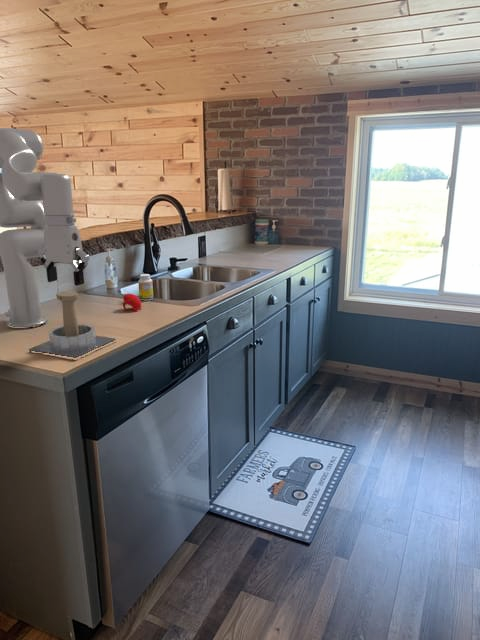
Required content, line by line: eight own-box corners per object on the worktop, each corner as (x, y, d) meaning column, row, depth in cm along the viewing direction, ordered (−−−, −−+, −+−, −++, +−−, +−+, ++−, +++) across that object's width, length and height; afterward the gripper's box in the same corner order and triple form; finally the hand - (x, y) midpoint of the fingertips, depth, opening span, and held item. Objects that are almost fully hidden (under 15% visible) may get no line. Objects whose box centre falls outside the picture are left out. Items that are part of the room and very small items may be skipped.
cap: (116, 301, 177) (122, 295, 173) (127, 293, 181) (133, 287, 177) (130, 318, 178) (136, 313, 174) (140, 309, 182) (147, 304, 178)
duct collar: (29, 352, 135) (26, 335, 133) (71, 334, 150) (70, 319, 148) (76, 360, 128) (74, 343, 127) (115, 341, 143) (114, 325, 142)
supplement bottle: (140, 298, 195) (138, 273, 192) (153, 297, 196) (152, 273, 193) (139, 301, 190) (137, 276, 187) (153, 301, 191) (151, 275, 188)
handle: (74, 348, 135) (68, 297, 131) (58, 343, 138) (52, 294, 134) (87, 342, 139) (81, 293, 134) (71, 338, 142) (66, 290, 138)
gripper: (94, 221, 129) (99, 283, 134) (45, 218, 135) (52, 277, 140) (74, 224, 122) (80, 289, 127) (24, 220, 129) (32, 282, 134)
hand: (65, 282), depth 134 cm, fingers open, 9 cm apart
